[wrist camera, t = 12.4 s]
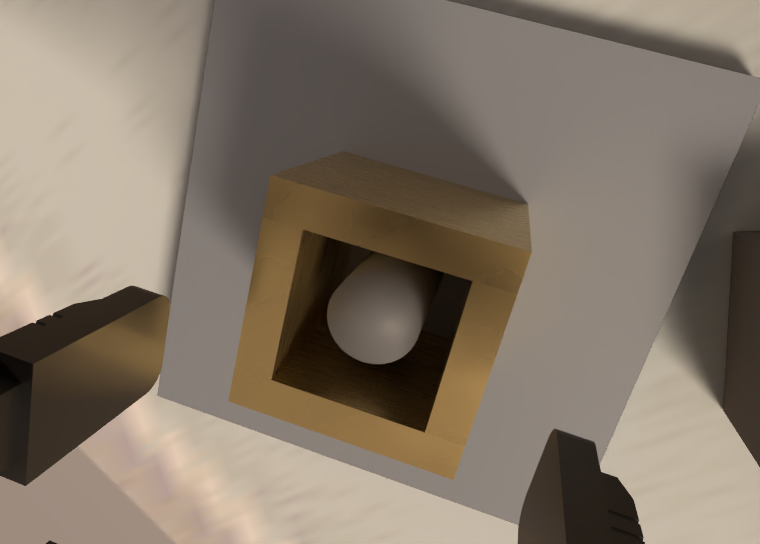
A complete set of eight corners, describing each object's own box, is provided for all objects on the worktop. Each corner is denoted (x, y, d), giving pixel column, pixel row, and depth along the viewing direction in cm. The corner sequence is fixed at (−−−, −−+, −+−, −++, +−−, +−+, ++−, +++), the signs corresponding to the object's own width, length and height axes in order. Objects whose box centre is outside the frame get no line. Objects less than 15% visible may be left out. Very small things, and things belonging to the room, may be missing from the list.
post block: (755, 81, 17) (869, 74, 12) (563, 523, 22) (578, 667, 17) (237, -49, 19) (121, -106, 14) (171, 384, 24) (67, 471, 19)
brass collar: (528, 203, 19) (531, 252, 13) (471, 374, 20) (453, 479, 15) (342, 151, 19) (270, 174, 14) (305, 319, 21) (228, 401, 16)
